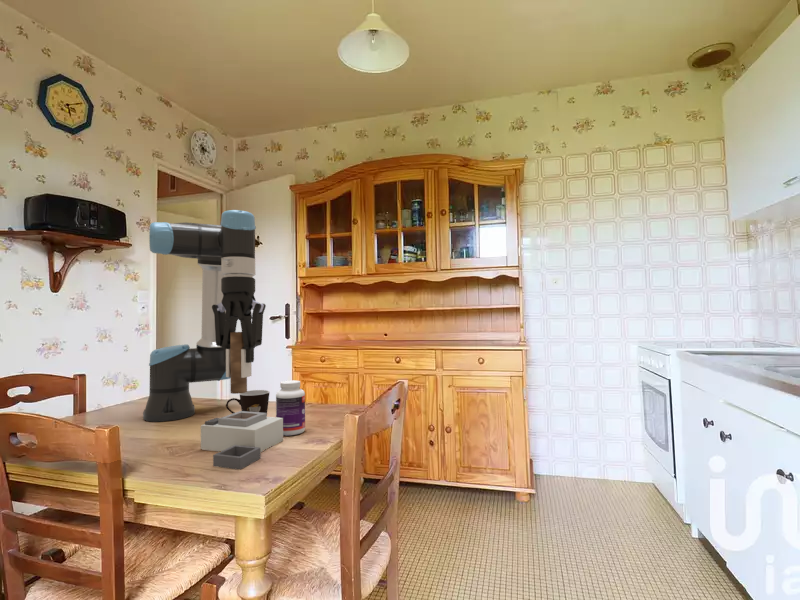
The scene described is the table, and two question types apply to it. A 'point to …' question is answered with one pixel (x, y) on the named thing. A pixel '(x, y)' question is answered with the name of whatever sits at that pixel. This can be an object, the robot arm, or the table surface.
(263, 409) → the coffee mug
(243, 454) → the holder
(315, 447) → the table surface
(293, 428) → the pill bottle
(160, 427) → the table surface
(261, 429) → the white pedestal box
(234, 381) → the dowel
